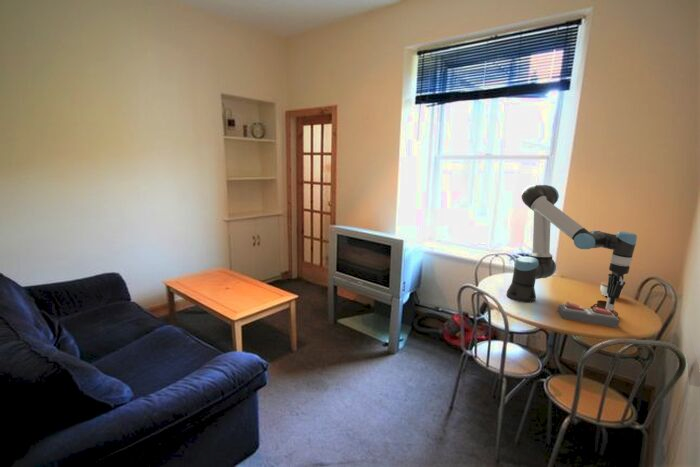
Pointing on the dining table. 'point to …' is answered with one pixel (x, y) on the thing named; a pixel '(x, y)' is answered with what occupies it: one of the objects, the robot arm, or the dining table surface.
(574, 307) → the rocker
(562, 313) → the power strip
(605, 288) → the lidded jar
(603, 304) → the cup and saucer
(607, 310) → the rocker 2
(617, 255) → the robot arm
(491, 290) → the dining table surface
